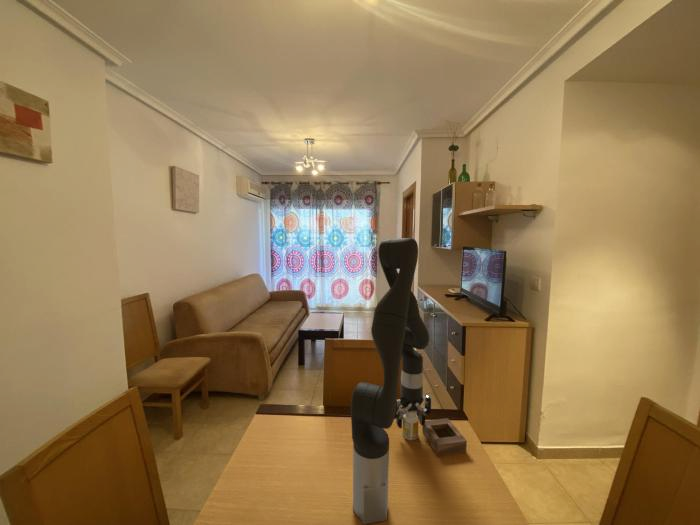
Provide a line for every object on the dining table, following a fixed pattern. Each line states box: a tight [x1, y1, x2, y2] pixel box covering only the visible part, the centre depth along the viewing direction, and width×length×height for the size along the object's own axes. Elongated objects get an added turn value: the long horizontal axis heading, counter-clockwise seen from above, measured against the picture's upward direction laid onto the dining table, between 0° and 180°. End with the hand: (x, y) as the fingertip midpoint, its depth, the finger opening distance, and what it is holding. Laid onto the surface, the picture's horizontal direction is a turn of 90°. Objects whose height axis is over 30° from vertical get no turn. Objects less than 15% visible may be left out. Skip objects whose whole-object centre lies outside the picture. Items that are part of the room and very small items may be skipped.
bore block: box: [421, 417, 467, 457], centre depth 103 cm, size 12×10×4 cm
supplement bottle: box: [402, 409, 419, 441], centre depth 105 cm, size 5×5×10 cm
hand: (410, 425), depth 106 cm, fingers open, 7 cm apart
